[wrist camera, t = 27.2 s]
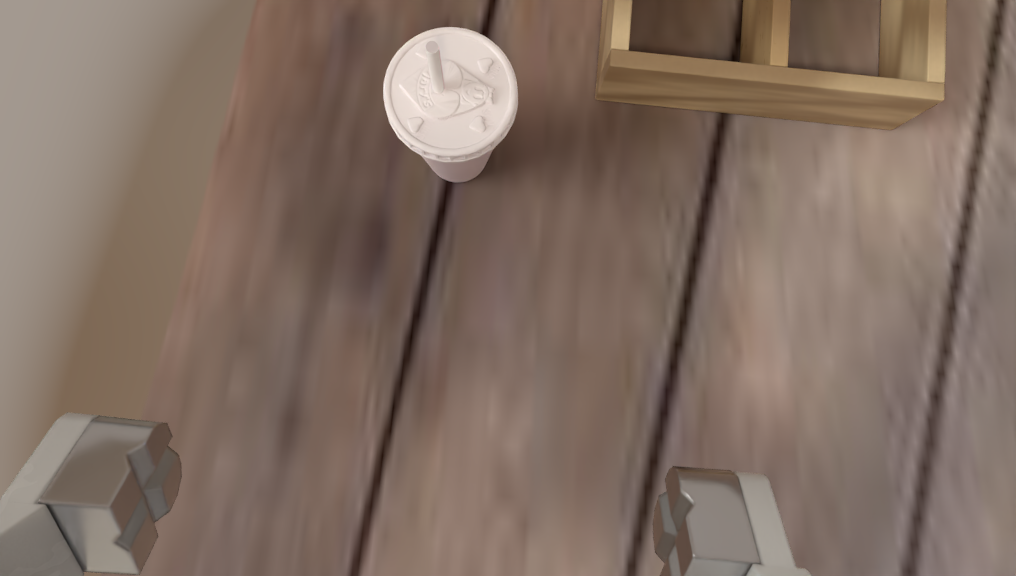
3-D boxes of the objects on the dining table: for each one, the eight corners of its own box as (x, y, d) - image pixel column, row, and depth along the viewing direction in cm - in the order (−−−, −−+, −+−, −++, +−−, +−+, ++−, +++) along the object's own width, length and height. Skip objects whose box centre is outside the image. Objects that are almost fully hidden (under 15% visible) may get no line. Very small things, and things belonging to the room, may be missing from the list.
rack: (892, 130, 43) (945, 100, 38) (594, 100, 43) (609, 65, 38) (896, -19, 44) (948, -67, 39) (606, -50, 44) (622, -103, 39)
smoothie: (411, 95, 42) (377, -36, 29) (516, 107, 43) (532, -17, 29) (398, 198, 42) (356, 115, 28) (504, 210, 42) (516, 133, 28)
